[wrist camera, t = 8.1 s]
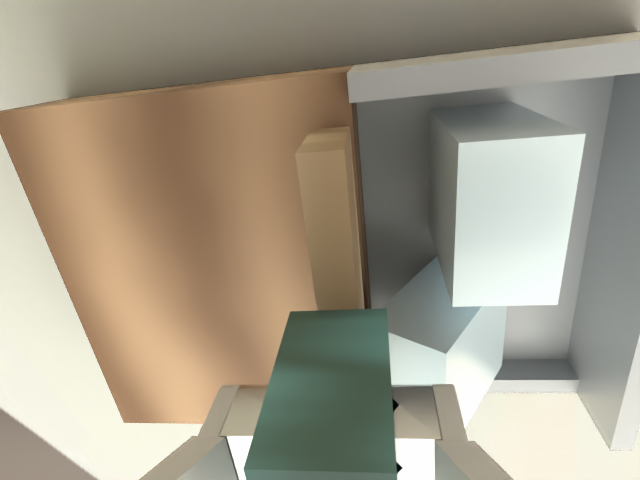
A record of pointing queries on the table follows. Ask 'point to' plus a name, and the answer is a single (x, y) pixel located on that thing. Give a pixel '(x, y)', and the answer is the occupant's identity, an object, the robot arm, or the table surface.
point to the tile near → (501, 202)
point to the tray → (587, 220)
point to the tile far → (444, 339)
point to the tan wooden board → (182, 226)
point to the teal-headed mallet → (329, 345)
